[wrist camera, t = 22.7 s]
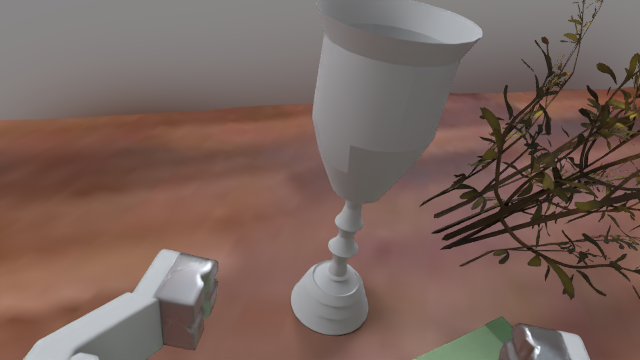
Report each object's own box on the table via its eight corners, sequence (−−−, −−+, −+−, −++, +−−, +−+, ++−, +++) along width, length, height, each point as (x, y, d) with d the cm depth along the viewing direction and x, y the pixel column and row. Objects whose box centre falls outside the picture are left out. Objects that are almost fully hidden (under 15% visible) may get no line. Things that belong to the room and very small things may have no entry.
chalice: (328, 247, 33) (385, -10, 22) (404, 304, 29) (510, 30, 19) (251, 298, 28) (279, -2, 18) (331, 373, 24) (422, 55, 14)
